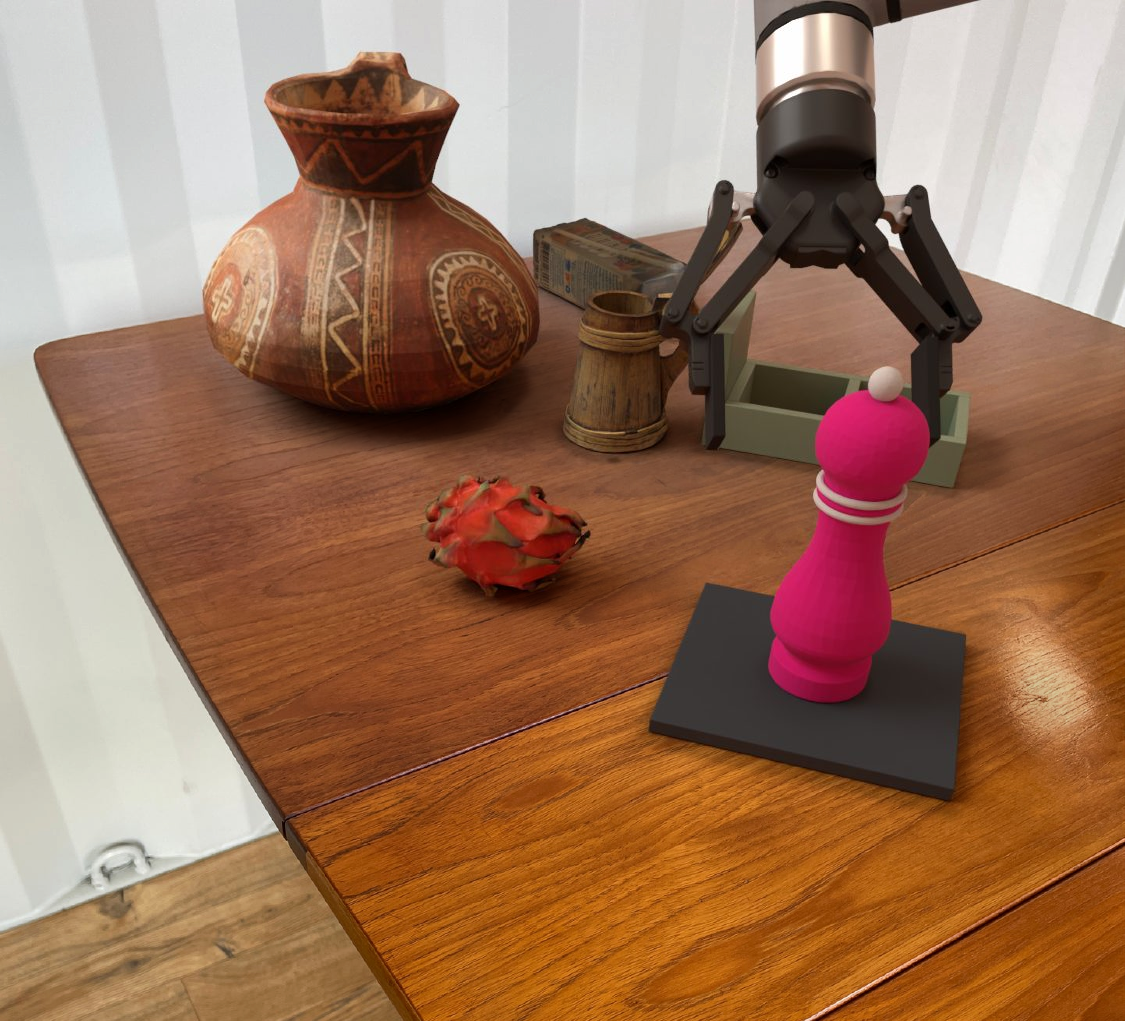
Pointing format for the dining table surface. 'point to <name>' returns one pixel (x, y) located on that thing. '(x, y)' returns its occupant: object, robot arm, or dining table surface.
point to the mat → (812, 729)
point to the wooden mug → (626, 368)
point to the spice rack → (811, 405)
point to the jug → (369, 257)
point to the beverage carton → (599, 262)
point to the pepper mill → (848, 544)
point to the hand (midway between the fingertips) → (821, 445)
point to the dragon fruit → (501, 533)
